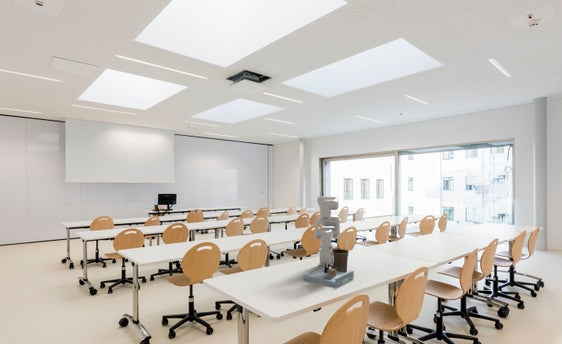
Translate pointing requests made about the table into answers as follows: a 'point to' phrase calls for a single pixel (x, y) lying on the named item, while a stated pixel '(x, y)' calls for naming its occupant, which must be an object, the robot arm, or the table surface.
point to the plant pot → (340, 260)
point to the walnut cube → (331, 272)
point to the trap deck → (334, 281)
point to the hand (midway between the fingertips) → (326, 272)
